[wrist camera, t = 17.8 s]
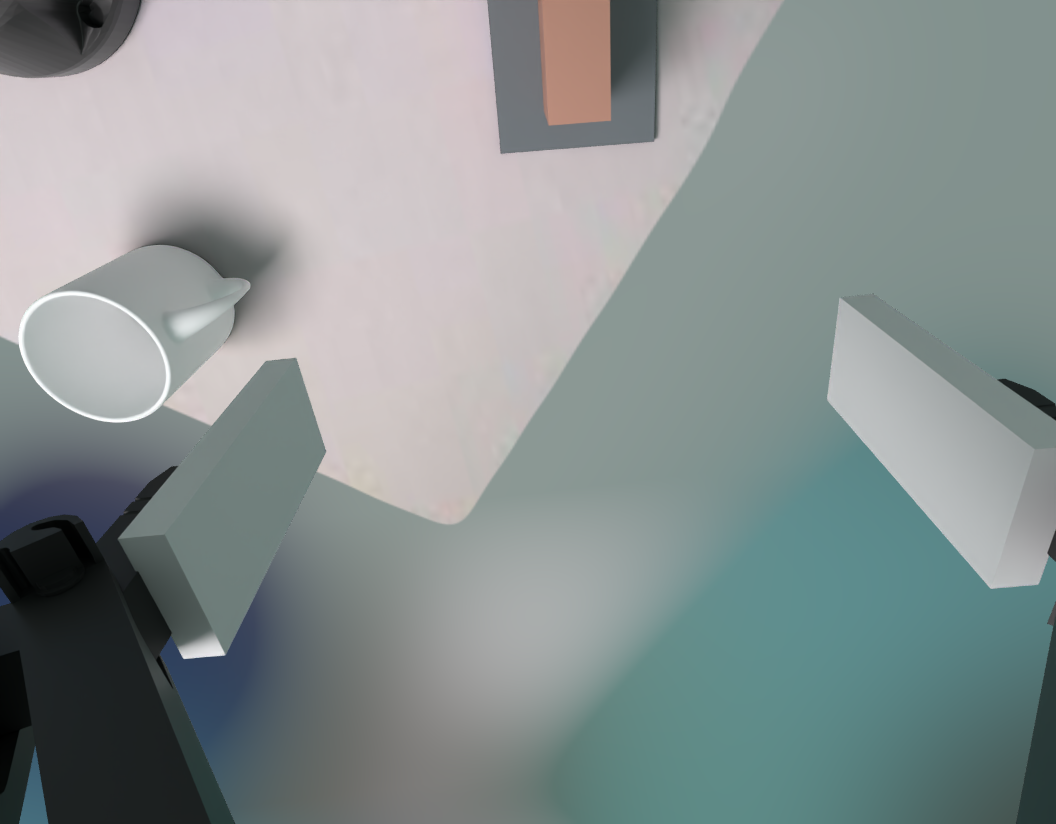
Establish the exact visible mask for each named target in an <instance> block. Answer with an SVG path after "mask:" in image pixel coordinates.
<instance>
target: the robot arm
mask: <svg viewBox="0 0 1056 824" xmlns="http://www.w3.org/2000/svg"><path fill="white" fill-rule="evenodd" d="M139 3H140V0H0V74H4V75H9V76H15V77H23V78H45V77H61V76H69V75H73V74H78V73H81V72H84V71H87V70H89V69H91V68H93V67H95V66H97V65H99V64H100V63H102V62H103V61H104V60H106V59H107V58H108V57H109V56H111V55H112V54H113V53H114V52H115V51H116V50H117V49H118V47H119V46H120V45H121V44H122V42H123V41H124V39H125V38H126V36H127V35H128V33H129V31H130V29H131V27H132V25H133V22H134V20H135V17H136V14H137V11H138V7H139ZM827 400H828V401H829V403H830V404H831V405H832V406H833V407H834V409H836V411H837V412H838V413H839V414H840V415H841V417H842V418H843V419H844V420H845V421H846V422H847V424H848V425H849V426H850V427H851V428H852V429H853V430H854V432H855V433H856V434H857V435H858V436H859V437H860V438H861V440H862V441H863V442H864V443H865V444H866V445H867V447H869V449H870V450H871V451H872V452H873V453H874V455H875V456H876V457H877V458H878V459H879V460H880V462H881V463H882V464H883V465H884V466H885V467H886V468H887V470H888V471H889V472H890V473H891V474H892V475H893V477H894V478H895V479H896V480H897V481H898V482H899V483H900V485H901V486H902V487H903V488H904V489H905V490H906V491H907V493H908V494H909V495H910V496H911V497H912V498H913V500H914V501H915V502H916V503H917V504H918V505H919V506H920V508H921V509H922V510H923V511H924V512H925V513H926V515H927V516H928V517H929V518H930V519H931V520H932V521H933V523H934V524H935V525H936V526H937V527H938V528H939V529H940V531H941V532H942V533H943V534H944V535H945V536H946V538H948V540H949V541H950V542H951V543H952V545H953V546H954V547H955V548H956V549H957V550H958V551H959V553H960V554H961V555H962V556H963V557H964V558H965V560H966V561H967V562H968V563H969V564H970V565H971V566H972V568H973V569H974V570H975V571H976V572H977V573H978V574H979V576H980V577H981V578H982V579H983V580H984V581H985V582H986V584H987V585H988V586H989V587H990V588H1003V587H1015V586H1027V585H1038V584H1039V581H1040V579H1041V576H1042V573H1043V571H1044V568H1045V565H1046V562H1047V560H1048V557H1049V556H1050V557H1051V558H1052V559H1053V560H1055V561H1056V406H1055V403H1053V402H1052V401H1050V400H1049V399H1047V398H1046V397H1044V396H1043V395H1041V394H1040V393H1038V392H1037V391H1035V390H1033V389H1031V388H1028V387H1025V386H1023V385H1020V384H1017V383H1015V382H1012V381H1009V380H1007V379H999V380H997V379H995V378H994V377H992V376H991V375H989V374H988V373H986V372H985V371H983V370H982V369H981V368H979V367H978V366H976V365H975V364H974V363H972V362H971V361H969V360H968V359H966V358H965V357H963V356H962V355H961V354H959V353H958V352H956V351H955V350H953V349H952V348H951V347H949V346H948V345H946V344H945V343H943V342H942V341H940V340H939V339H938V338H936V337H935V336H933V335H931V334H930V333H929V332H928V331H926V330H925V329H923V328H922V327H920V326H919V325H917V324H916V323H915V322H913V321H912V320H910V319H909V318H907V317H906V316H904V315H903V314H902V313H900V312H899V311H897V310H896V309H894V308H893V307H892V306H890V305H888V304H887V303H886V302H884V301H883V300H881V299H880V298H879V297H877V296H876V295H874V294H866V295H857V296H849V297H840V300H839V308H838V316H837V324H836V332H835V341H834V349H833V357H832V365H831V373H830V381H829V389H828V397H827ZM325 453H326V450H325V446H324V443H323V440H322V437H321V434H320V431H319V428H318V425H317V421H316V418H315V415H314V412H313V409H312V406H311V403H310V400H309V397H308V393H307V390H306V387H305V384H304V381H303V378H302V375H301V372H300V368H299V365H298V362H297V359H296V358H290V359H281V360H272V361H266V362H265V363H264V364H263V365H262V366H261V368H260V369H259V370H258V371H257V372H256V374H255V375H254V376H253V377H252V378H251V380H250V381H249V382H248V383H247V384H246V386H245V387H244V388H243V389H242V390H241V392H240V393H239V394H238V395H237V396H236V398H235V399H234V400H233V401H232V402H231V404H230V405H229V406H228V407H227V408H226V410H225V411H224V412H223V413H222V414H221V416H220V417H219V418H218V419H217V420H216V422H215V423H214V424H213V425H212V426H211V428H210V429H209V430H208V431H207V432H206V434H205V435H204V436H203V437H202V438H201V440H200V441H199V442H198V443H197V444H196V446H195V447H194V448H193V449H192V450H191V452H190V453H189V454H188V455H187V456H186V458H185V459H184V460H183V461H182V462H181V464H180V465H179V466H173V467H170V468H169V469H168V470H166V471H165V472H163V473H162V474H160V475H159V476H157V477H156V478H155V479H153V480H152V481H150V482H149V483H148V484H147V486H146V487H145V488H144V489H143V490H142V491H141V492H140V494H139V495H138V496H137V497H136V498H135V502H132V503H131V504H130V505H129V506H128V507H127V508H126V510H125V511H124V515H122V516H119V518H118V519H117V520H116V521H115V522H114V524H113V525H112V526H111V527H110V528H109V529H108V530H107V531H106V533H105V534H104V535H103V536H102V537H101V538H100V540H99V541H98V542H97V543H95V541H94V540H93V538H92V536H91V535H90V533H89V531H88V529H87V527H86V526H85V524H84V522H83V521H82V520H81V519H80V518H79V517H78V516H72V515H60V516H53V517H48V518H45V519H43V520H39V521H36V522H33V523H30V524H29V525H26V526H24V527H22V528H21V529H19V530H16V531H14V532H13V533H11V534H10V535H8V536H7V537H5V538H4V539H3V540H1V541H0V588H1V589H2V590H3V592H4V593H5V595H6V596H7V597H8V599H9V600H10V602H11V603H10V604H7V605H3V606H0V824H19V821H20V816H21V811H22V806H23V802H24V797H25V791H26V787H27V782H28V777H29V772H30V768H31V763H32V758H33V753H34V748H35V746H36V751H37V757H38V764H39V770H40V775H41V782H42V787H43V793H44V799H45V805H46V812H47V817H48V823H49V824H235V822H234V820H233V817H232V815H231V813H230V811H229V808H228V806H227V804H226V801H225V799H224V797H223V795H222V792H221V790H220V788H219V785H218V783H217V781H216V779H215V776H214V774H213V772H212V769H211V767H210V765H209V762H208V760H207V758H206V756H205V753H204V751H203V749H202V747H201V744H200V742H199V739H198V737H197V735H196V733H195V730H194V728H193V726H192V724H191V721H190V719H189V717H188V714H187V712H186V710H185V707H184V705H183V703H182V701H181V698H180V696H179V694H178V691H177V689H176V687H175V684H174V682H173V680H172V678H171V675H170V673H169V671H168V668H167V666H166V665H165V663H164V661H163V659H162V658H161V656H160V652H161V651H162V649H163V647H164V645H165V644H166V643H167V641H168V639H169V638H170V636H172V638H173V640H174V642H175V644H176V645H177V647H178V649H179V651H180V653H181V655H182V656H183V658H184V659H186V658H197V657H209V656H221V655H226V653H227V651H228V649H229V647H230V645H231V643H232V641H233V639H234V637H235V635H236V633H237V631H238V629H239V627H240V625H241V623H242V621H243V619H244V617H245V615H246V613H247V611H248V609H249V607H250V605H251V602H252V600H253V599H254V596H255V595H256V592H257V590H258V588H259V586H260V584H261V582H262V580H263V578H264V576H265V574H266V572H267V570H268V568H269V566H270V564H271V562H272V560H273V558H274V556H275V554H276V552H277V550H278V548H279V546H280V544H281V542H282V540H283V538H284V536H285V534H286V532H287V530H288V528H289V526H290V524H291V522H292V520H293V518H294V516H295V514H296V511H297V510H298V508H299V505H300V504H301V501H302V499H303V498H304V495H305V493H306V491H307V489H308V487H309V485H310V483H311V481H312V479H313V477H314V475H315V473H316V471H317V469H318V467H319V465H320V463H321V461H322V459H323V457H324V455H325ZM1047 624H1050V625H1053V632H1052V637H1051V642H1050V647H1049V653H1048V657H1047V663H1046V668H1045V673H1044V679H1043V684H1042V689H1041V694H1040V700H1039V705H1038V710H1037V715H1036V720H1035V726H1034V731H1033V736H1032V742H1031V747H1030V753H1029V757H1028V763H1027V768H1026V773H1025V778H1024V784H1023V789H1022V794H1021V800H1020V805H1019V810H1018V815H1017V821H1016V824H1056V602H1055V605H1054V608H1053V610H1052V613H1051V615H1050V618H1049V620H1048V623H1047Z"/></svg>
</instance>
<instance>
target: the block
mask: <svg viewBox="0 0 1056 824" xmlns="http://www.w3.org/2000/svg"><path fill="white" fill-rule="evenodd" d="M538 14H539V32H540V50H541V68H542V86H543V104H544V113H545V116H546V119H547V122H548V125H549V126H550V125H563V124H575V123H588V122H600V121H611V65H610V0H538Z"/></svg>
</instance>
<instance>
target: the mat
mask: <svg viewBox="0 0 1056 824" xmlns="http://www.w3.org/2000/svg"><path fill="white" fill-rule="evenodd" d="M487 1H488V12H489V24H490V35H491V47H492V58H493V69H494V81H495V92H496V104H497V115H498V126H499V138H500V149H501V154H502V153H515V152H528V151H540V150H553V149H566V148H578V147H591V146H604V145H616V144H629V143H642V142H654V123H655V76H656V29H657V0H610V65H611V121H600V122H588V123H575V124H563V125H550V126H549V125H548V122H547V119H546V116H545V113H544V104H543V86H542V68H541V50H540V32H539V14H538V0H487Z"/></svg>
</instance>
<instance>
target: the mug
mask: <svg viewBox="0 0 1056 824" xmlns="http://www.w3.org/2000/svg"><path fill="white" fill-rule="evenodd" d="M250 287H251V285H250V283H249V282H248V281H247V280H245V279H242V278H222V277H221V276H220V274H219V273H218V272H217V271H216V270H215V269H214V268H213V267H212V266H211V265H210V264H209V263H207V262H206V261H205V260H203V259H202V258H200V257H199V256H197V255H195V254H193V253H191V252H190V251H187V250H184V249H182V248H178V247H175V246H169V245H152V246H145V247H141V248H138V249H136V250H133V251H131V252H129V253H127V254H125V255H123V256H121V257H119V258H117V259H115V260H113V261H111V262H109V263H107V264H105V265H103V266H101V267H99V268H97V269H95V270H93V271H91V272H89V273H87V274H86V275H84V276H82V277H80V278H78V279H76V280H74V281H72V282H70V283H68V284H66V285H64V286H62V287H60V288H58V289H56V290H54V291H52V292H50V293H49V294H47V295H45V296H43V297H41V298H39V299H38V300H36V301H35V302H34V303H33V304H32V305H31V306H30V307H29V308H28V309H27V311H26V312H25V313H24V316H23V318H22V320H21V323H20V327H19V337H18V338H19V347H20V351H21V355H22V357H23V360H24V362H25V365H26V366H27V368H28V370H29V372H30V373H31V375H32V376H33V378H34V379H35V380H36V382H37V383H38V384H39V385H40V386H41V387H42V388H43V389H44V390H45V391H46V392H47V393H48V394H49V395H50V396H51V397H52V398H54V399H55V400H56V401H58V402H59V403H61V404H62V405H64V406H65V407H67V408H69V409H71V410H72V411H74V412H76V413H79V414H81V415H83V416H86V417H90V418H92V419H96V420H101V421H108V422H128V421H134V420H138V419H141V418H143V417H146V416H148V415H150V414H151V413H153V412H154V411H155V410H157V409H158V408H159V407H160V406H161V405H162V404H163V403H164V402H165V401H166V400H167V399H168V398H169V397H170V396H171V395H172V394H173V393H174V392H175V391H176V390H177V389H178V388H179V387H181V386H182V385H183V384H184V383H185V382H186V381H187V380H188V379H189V378H190V377H191V376H192V375H193V374H194V373H195V372H196V371H197V370H198V369H199V368H200V367H201V366H202V365H203V364H204V363H205V362H206V361H207V360H208V359H209V358H210V357H211V356H212V355H213V354H214V353H215V352H216V351H217V350H218V349H219V348H220V347H221V346H222V345H223V343H224V342H225V341H226V340H227V338H228V336H229V335H230V332H231V330H232V327H233V324H234V318H235V310H234V304H236V303H237V302H238V301H239V300H240V299H241V298H242V297H243V296H244V295H245V293H246V292H247V291H248V290H249V289H250Z"/></svg>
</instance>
